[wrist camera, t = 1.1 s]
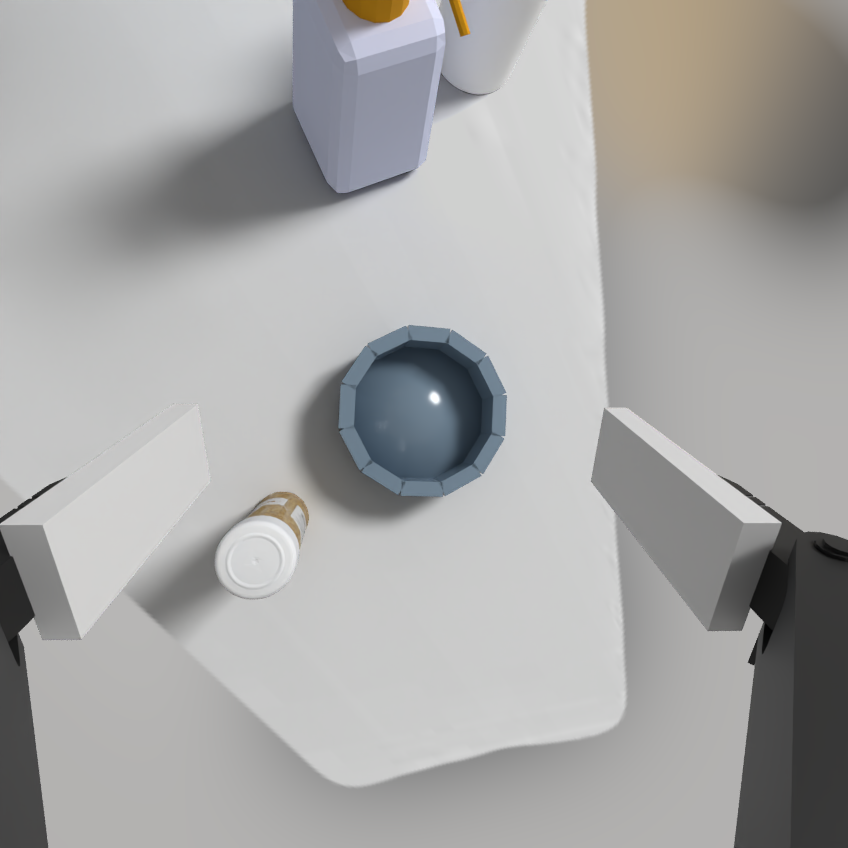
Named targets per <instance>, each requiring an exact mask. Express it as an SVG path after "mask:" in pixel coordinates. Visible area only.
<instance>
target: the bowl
mask: <svg viewBox="0 0 848 848" xmlns="http://www.w3.org/2000/svg"><path fill="white" fill-rule="evenodd" d="M485 355H486V353H485V352H483V351H482V350H480V349H479V348H478V347H476V346H475V345H473V344H472V343H470V342H469V341H468V340H466V339H465V338H463V337H462V336H461V335H459V334H458V333H456V332H455V331H453V330H452V331H451V332H450V329H445V328H434V327H424V326H413V325H409V326H408V327H406V326H404V327H402V328H400V329H398V330H396V331H394V332H391V333H389V334H387V335H385V336H383V337H381V338H379V339H377V340H375V341H372V342H370V343H368V345H367V346H365V347H364V349H363V350H362V352H361V353H360V355H359V356H358V358H357V359H356V361H355V362H354V364H353V365H352V367H351V368H350V370H349V371H348V373H347V374H346V376H345V377H344V379H343V380H342V383H341V387H340V403H339V422H338V429H341V431H339V433H340V435H341V437H342V439H343V441H344V442H345V444H346V446H347V448H348V450H349V452H350V454H351V456H352V458H353V460H354V462H355V463H356V465H357V467H358V469H359V470H360V471H361V472H362V473H364V474H365V475H367V476H368V477H370V478H372V479H373V480H375V481H376V482H378V483H380V484H381V485H383V486H384V487H386V488H388V489H389V490H391V491H392V492H394V493H396V494H397V495H398V494H399V495H401V496H437V497H443V495H445V496H446V495H448V494H450V493H452V492H453V491H455V490H457V489H459V488H460V487H462V486H464V485H466V484H468V483H469V482H471V481H473V480H475V479H476V478H478V477H480V476H481V474H480V473H482V474H483V473H484V472H485V470H486V468H487V467H488V465H489V463H490V462H491V460H492V458H493V457H494V455H495V453H496V452H497V450H498V448H499V447H500V445H501V443H502V442H503V440H504V438H502V437H501V436H505V426H506V401H507V395H502V394H504V393H506V391H505V389H504V387H503V385H502V383H501V381H500V379H499V377H498V375H497V373H496V371H495V369H494V367H493V365H492V363H491V361H490V359H489V357H488V356H487V357H485V358H484V356H485Z"/></svg>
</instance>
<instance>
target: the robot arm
mask: <svg viewBox="0 0 848 848" xmlns="http://www.w3.org/2000/svg"><path fill="white" fill-rule="evenodd" d="M210 481H211V478H210V472H209V466H208V460H207V454H206V448H205V442H204V436H203V431H202V425H201V419H200V413H199V407H198V404H172V405H171V406H169V407H168V408H166V409H165V410H163V411H162V412H161V413H159V414H158V415H156V416H155V417H153V418H152V419H150V420H149V421H148V422H146V423H145V424H143V425H142V426H140V427H139V428H137V429H136V430H135V431H133V432H132V433H130V434H129V435H127V436H126V437H124V438H123V439H122V440H120V441H119V442H117V443H116V444H114V445H113V446H112V447H110V448H109V449H107V450H106V451H104V452H103V453H101V454H100V455H99V456H97V457H96V458H94V459H93V460H91V461H90V462H88V463H87V464H86V465H84V466H83V467H81V468H80V469H78V470H77V471H75V472H74V473H73V474H71V475H70V476H68V477H66V478H64V479H61V480H59V481H57V482H54V483H52V484H50V485H48V486H47V487H45V488H44V489H42V490H41V491H39V492H38V493H36V494H35V495H33V496H32V499H28V500H26V501H25V502H23V503H22V504H20V505H19V506H18V508H17V509H13V510H12V511H10V512H8V513H7V514H6V515H4V516H3V517H1V518H0V848H48V842H47V833H46V825H45V817H44V808H43V800H42V792H41V784H40V776H39V768H38V759H37V751H36V743H35V735H34V727H33V718H32V710H31V702H30V694H29V686H28V677H27V669H26V661H25V653H24V646H23V643H22V641H21V639H20V636H19V634H18V632H20V631H21V629H23V628H24V627H25V625H27V624H28V623H29V621H30V620H31V619H32V618H33V617H34V619H35V622H36V624H37V627H38V630H39V632H40V635H41V638H42V640H81V639H82V638H83V637H84V636H85V635H86V633H87V632H88V631H89V630H90V629H91V627H92V626H93V625H94V624H95V622H96V621H97V620H98V619H99V617H100V616H101V615H102V614H103V613H104V611H105V610H106V609H107V608H108V606H109V605H110V604H111V603H112V602H113V600H114V599H115V598H116V597H117V595H118V594H119V593H120V592H121V591H122V589H123V588H124V587H125V586H126V584H127V583H128V582H129V581H130V579H131V578H132V577H133V576H134V575H135V573H136V572H137V571H138V570H139V568H140V567H141V566H142V565H143V564H144V562H145V561H146V560H147V559H148V557H149V556H150V555H151V554H152V552H153V551H154V550H155V549H156V548H157V546H158V545H159V544H160V543H161V541H162V540H163V539H164V538H165V537H166V535H167V534H168V533H169V532H170V530H171V529H172V528H173V527H174V526H175V524H176V523H177V522H178V521H179V519H180V518H181V517H182V516H183V514H184V513H185V512H186V511H187V510H188V508H189V507H190V506H191V505H192V503H193V502H194V501H195V500H196V499H197V497H198V496H199V495H200V494H201V492H202V491H203V490H204V489H205V487H206V486H207V485H208V484H209V483H210ZM591 482H592V483H593V485H594V486H595V487H596V489H597V490H598V491H599V492H600V494H601V495H602V496H603V498H604V499H605V500H606V501H607V503H608V504H609V505H610V507H611V508H612V509H613V510H614V512H615V513H616V514H617V515H618V517H619V518H620V519H621V520H622V521H623V523H624V524H625V526H626V527H627V528H628V530H629V531H630V532H631V533H632V535H633V536H634V537H635V538H636V540H637V541H638V542H639V544H640V545H641V546H642V548H643V549H644V550H645V551H646V552H647V554H648V555H649V556H650V558H651V559H652V560H653V561H654V563H655V564H656V565H657V567H658V568H659V569H660V571H661V572H662V573H663V574H664V575H665V577H666V578H667V579H668V581H669V582H670V583H671V584H672V586H673V587H674V589H675V590H676V591H677V592H678V594H679V595H680V596H681V597H682V599H683V600H684V601H685V603H686V604H687V605H688V606H689V608H690V609H691V610H692V611H693V613H694V614H695V615H696V617H697V618H698V619H699V621H700V622H701V623H702V624H703V626H704V627H705V628H706V630H707V631H741V630H742V629H743V626H744V623H745V621H746V618H747V616H748V613H749V610H750V608H751V609H752V610H753V611H754V612H755V613H756V614H757V615H758V616H759V617H760V618H761V619H762V620H763V621H764V623H763V625H762V628H761V630H760V633H759V636H758V638H757V640H756V643H755V646H754V648H753V651H752V653H751V656H750V658H749V661H748V663H750V664H752V665H755V669H754V678H753V686H752V695H751V704H750V713H749V721H748V731H747V739H746V747H745V756H744V765H743V773H742V782H741V791H740V800H739V808H738V818H737V826H736V835H735V844H734V848H848V540H846V539H843V538H841V537H838V536H834V535H830V534H825V533H821V532H805V533H804V532H803V531H802V530H800V529H799V528H797V527H796V526H795V525H793V524H792V523H791V522H789V521H788V520H786V519H785V518H784V517H782V516H781V515H779V514H778V513H777V512H775V511H774V510H773V509H771V508H770V507H767V506H765V504H764V503H763V502H762V501H760V500H759V499H757V498H756V497H753V495H752V494H751V493H749V492H748V491H746V490H745V489H744V488H742V487H741V486H739V485H738V484H736V483H734V482H732V481H730V480H728V479H725V478H723V477H721V476H719V475H717V474H715V473H714V472H712V471H711V470H710V469H708V468H707V467H706V466H705V465H703V464H702V463H701V462H699V461H698V460H696V459H695V458H694V457H692V456H691V455H690V454H688V453H687V452H686V451H684V450H683V449H682V448H680V447H679V446H678V445H676V444H675V443H674V442H672V441H671V440H670V439H668V438H667V437H665V436H664V435H663V434H661V433H660V432H659V431H657V430H656V429H655V428H653V427H652V426H651V425H649V424H648V423H647V422H645V421H644V420H643V419H641V418H640V417H639V416H637V415H636V414H635V413H633V412H632V411H630V410H629V409H628V408H604V412H603V417H602V423H601V428H600V434H599V439H598V445H597V450H596V456H595V461H594V467H593V472H592V478H591Z"/></svg>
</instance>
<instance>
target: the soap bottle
mask: <svg viewBox="0 0 848 848" xmlns="http://www.w3.org/2000/svg"><path fill="white" fill-rule="evenodd" d="M449 2H450V5H451V9H452V12H453V15H454V18H455V21H456V24H457V27H458V31H459V34H460V37H462V36H465V35H468V34H471V33H470V30H469V27H468V24H467V21H466V17H465V14H464V11H463V8H462V5H461V2H460V0H449ZM445 44H446V40H445V26H444V20H443V17H442V15H441V13H440V10H439V8H438V6H437V3H436V1H435V0H293V109H294V111H295V114H296V116H297V118H298V120H299V122H300V124H301V127H302V129H303V131H304V133H305V135H306V138H307V140H308V142H309V144H310V146H311V149H312V151H313V153H314V155H315V157H316V160H317V162H318V164H319V166H320V168H321V171H322V173H323V175H324V177H325V179H326V182H327V183H328V184H329V185H330V186H331V187H332V188H333V189H334V190H335V191H336V192H337V193H348V192H351V191H354V190H357V189H360V188H363V187H366V186H368V185H371V184H374V183H377V182H380V181H382V180H385V179H388V178H391V177H394V176H397V175H399V174H402V173H405V172H408V171H411V170H414V169H416V168H418V167H419V166H420V165H421V164H422V163H423V162H424V161H425V160H426V156H427V150H428V144H429V138H430V132H431V127H432V121H433V115H434V109H435V103H436V97H437V91H438V85H439V80H440V74H441V68H442V62H443V56H444V50H445Z"/></svg>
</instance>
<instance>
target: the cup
mask: <svg viewBox="0 0 848 848" xmlns="http://www.w3.org/2000/svg"><path fill="white" fill-rule="evenodd" d="M547 1H548V0H460V2H461V5H462V8H463V11H464V14H465V17H466V21H467V24H468V27H469V30H470V33H471V34H468V35H465V36H462V37H460V34H459V31H458V27H457V24H456V21H455V18H454V15H453V12H452V9H451V5H450V2H449V0H441V3H440V7H439V10H440V13H441V15H442V17H443V20H444V26H445V40H446V44H445V50H444V56H443V62H442V68H441V74H442V75H443V76H444V77H445V78H446V80H448V81H449V82H450V83H451V84H452V85H453V86H455V87H456V88H458V89H460V90H462V91H464V92H467V93H471V94H488V93H492V92H494V91H496V90H498V89H500V88H501V87H502V86H503V85H504V84H505V83H506V82H507V81H508V79H509V78H510V76H511V74H512V72H513V70H514V68H515V66H516V64H517V62H518V60H519V58H520V56H521V54H522V51H523V49H524V47H525V45H526V43H527V41H528V39H529V37H530V35H531V33H532V31H533V29H534V27H535V25H536V23H537V21H538V19H539V17H540V15H541V13H542V11H543V9H544V7H545V5H546V3H547Z"/></svg>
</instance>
